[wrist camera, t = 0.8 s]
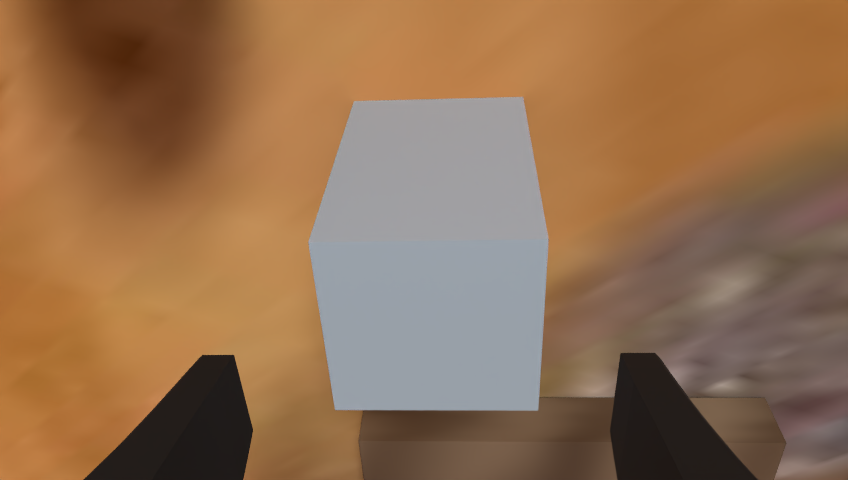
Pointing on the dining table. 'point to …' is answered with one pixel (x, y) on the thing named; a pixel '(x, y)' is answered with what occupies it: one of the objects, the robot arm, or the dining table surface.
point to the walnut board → (541, 440)
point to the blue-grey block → (433, 258)
